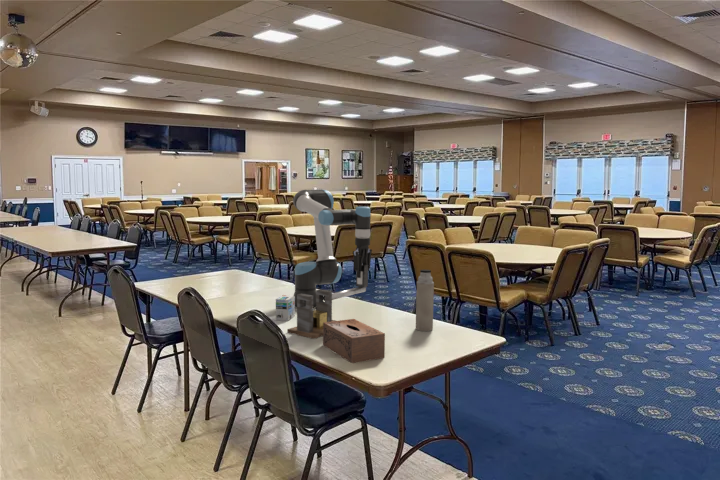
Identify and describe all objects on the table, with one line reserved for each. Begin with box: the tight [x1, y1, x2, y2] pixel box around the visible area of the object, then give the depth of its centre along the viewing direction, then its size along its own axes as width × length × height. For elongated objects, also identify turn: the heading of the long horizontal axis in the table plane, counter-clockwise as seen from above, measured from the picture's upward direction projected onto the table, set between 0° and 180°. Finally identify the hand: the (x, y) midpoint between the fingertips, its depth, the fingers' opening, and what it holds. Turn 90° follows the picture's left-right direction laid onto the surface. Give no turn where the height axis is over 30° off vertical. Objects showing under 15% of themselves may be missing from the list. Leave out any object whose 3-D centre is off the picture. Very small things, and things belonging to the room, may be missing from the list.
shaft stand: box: [287, 288, 336, 339], centre depth 256 cm, size 26×16×18 cm, turn 143°
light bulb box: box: [275, 294, 296, 322], centre depth 276 cm, size 11×7×11 cm, turn 168°
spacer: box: [313, 309, 327, 329], centre depth 255 cm, size 5×7×7 cm
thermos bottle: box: [415, 269, 435, 332], centre depth 258 cm, size 8×8×28 cm
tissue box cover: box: [322, 318, 386, 364], centre depth 224 cm, size 26×14×10 cm, turn 29°
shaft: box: [323, 264, 369, 302], centre depth 270 cm, size 30×5×14 cm, turn 143°
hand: (362, 283), depth 281 cm, fingers closed on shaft, 3 cm apart
